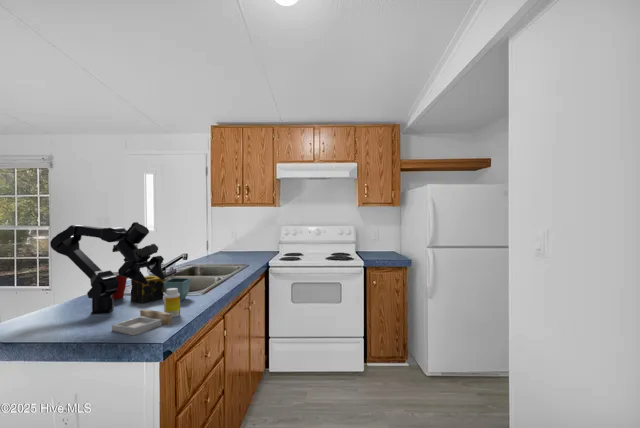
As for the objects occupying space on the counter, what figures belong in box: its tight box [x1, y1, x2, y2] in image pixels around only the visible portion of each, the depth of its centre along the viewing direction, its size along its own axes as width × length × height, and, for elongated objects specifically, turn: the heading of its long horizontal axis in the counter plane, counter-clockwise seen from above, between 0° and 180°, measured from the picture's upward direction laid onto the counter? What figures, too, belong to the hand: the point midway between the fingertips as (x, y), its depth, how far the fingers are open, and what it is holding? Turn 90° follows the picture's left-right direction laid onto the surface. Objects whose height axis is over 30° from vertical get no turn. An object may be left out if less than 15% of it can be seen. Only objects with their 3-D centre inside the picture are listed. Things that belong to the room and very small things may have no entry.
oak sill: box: [139, 309, 173, 325], centre depth 120 cm, size 14×2×4 cm, turn 67°
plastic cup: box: [112, 271, 128, 301], centre depth 155 cm, size 11×11×12 cm
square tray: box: [111, 315, 162, 336], centre depth 114 cm, size 10×10×2 cm
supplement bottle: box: [163, 288, 181, 318], centre depth 127 cm, size 6×6×10 cm
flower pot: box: [163, 277, 192, 302], centre depth 151 cm, size 9×9×9 cm
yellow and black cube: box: [130, 274, 165, 304], centre depth 151 cm, size 10×10×10 cm
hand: (155, 281), depth 129 cm, fingers open, 9 cm apart
